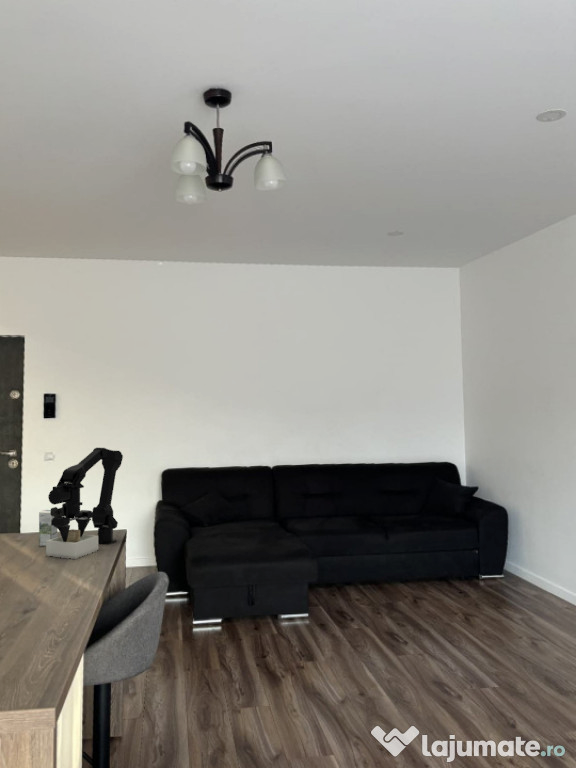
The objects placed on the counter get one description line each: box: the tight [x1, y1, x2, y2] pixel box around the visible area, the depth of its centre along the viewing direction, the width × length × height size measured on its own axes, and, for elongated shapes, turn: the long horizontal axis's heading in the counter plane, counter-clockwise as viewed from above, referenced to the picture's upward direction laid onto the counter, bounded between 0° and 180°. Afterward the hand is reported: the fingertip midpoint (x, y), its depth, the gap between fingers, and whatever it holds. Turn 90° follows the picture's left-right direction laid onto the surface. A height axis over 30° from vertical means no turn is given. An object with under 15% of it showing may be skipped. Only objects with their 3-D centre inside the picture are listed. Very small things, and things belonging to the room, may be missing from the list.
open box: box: [45, 533, 99, 560], centre depth 252 cm, size 14×14×6 cm
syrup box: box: [38, 509, 59, 547], centre depth 266 cm, size 6×6×14 cm
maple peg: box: [66, 528, 80, 543], centre depth 252 cm, size 4×4×8 cm
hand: (72, 539), depth 252 cm, fingers open, 9 cm apart
